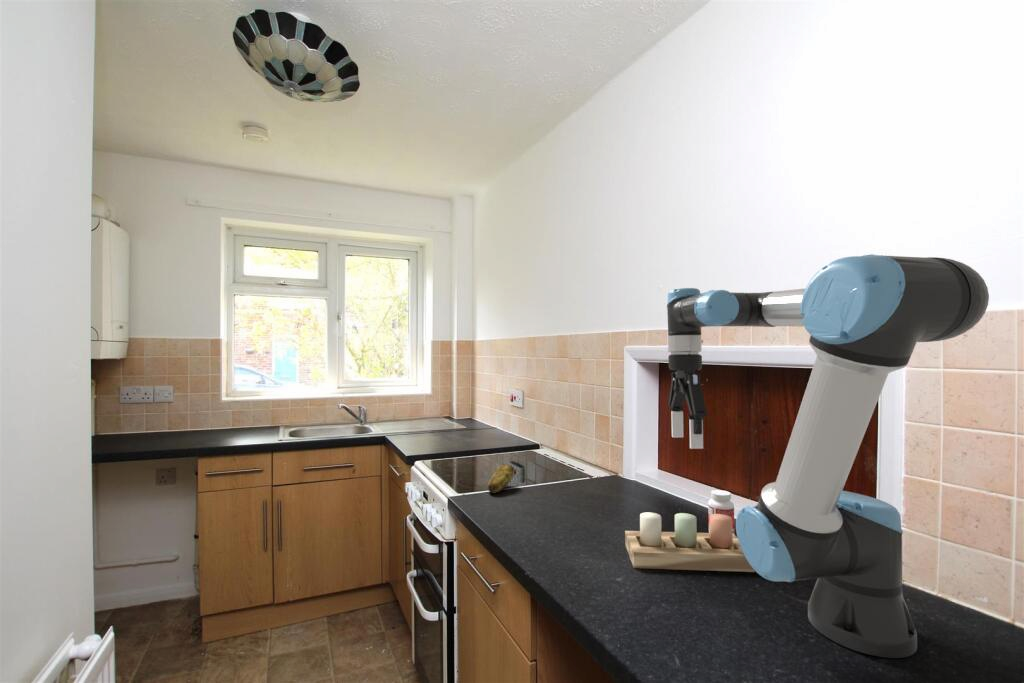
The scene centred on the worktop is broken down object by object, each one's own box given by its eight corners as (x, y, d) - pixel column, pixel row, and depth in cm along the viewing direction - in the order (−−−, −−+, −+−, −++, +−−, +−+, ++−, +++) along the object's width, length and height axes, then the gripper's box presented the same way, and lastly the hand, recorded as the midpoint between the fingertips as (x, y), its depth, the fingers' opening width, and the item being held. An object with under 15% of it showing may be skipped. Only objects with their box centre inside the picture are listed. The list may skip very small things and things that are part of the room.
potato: (478, 491, 159) (478, 468, 159) (505, 483, 167) (505, 461, 168) (494, 496, 153) (494, 472, 153) (521, 488, 162) (521, 465, 162)
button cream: (663, 546, 106) (663, 520, 106) (642, 545, 107) (642, 519, 107) (658, 537, 111) (658, 512, 111) (638, 537, 111) (638, 512, 111)
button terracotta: (735, 548, 105) (735, 521, 105) (714, 547, 105) (713, 521, 105) (727, 539, 110) (727, 514, 110) (707, 538, 110) (706, 513, 110)
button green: (699, 547, 106) (699, 520, 106) (678, 546, 106) (677, 520, 106) (693, 538, 110) (692, 513, 110) (672, 537, 111) (672, 512, 111)
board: (755, 571, 101) (754, 555, 101) (633, 568, 103) (633, 552, 103) (733, 548, 113) (733, 533, 113) (625, 544, 115) (625, 530, 115)
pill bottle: (739, 536, 120) (738, 493, 120) (725, 541, 117) (725, 497, 117) (717, 528, 125) (716, 487, 125) (703, 533, 122) (703, 491, 122)
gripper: (722, 353, 98) (724, 453, 98) (683, 353, 123) (685, 433, 123) (686, 353, 99) (687, 453, 98) (655, 353, 124) (656, 433, 123)
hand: (686, 442), depth 110 cm, fingers open, 13 cm apart
